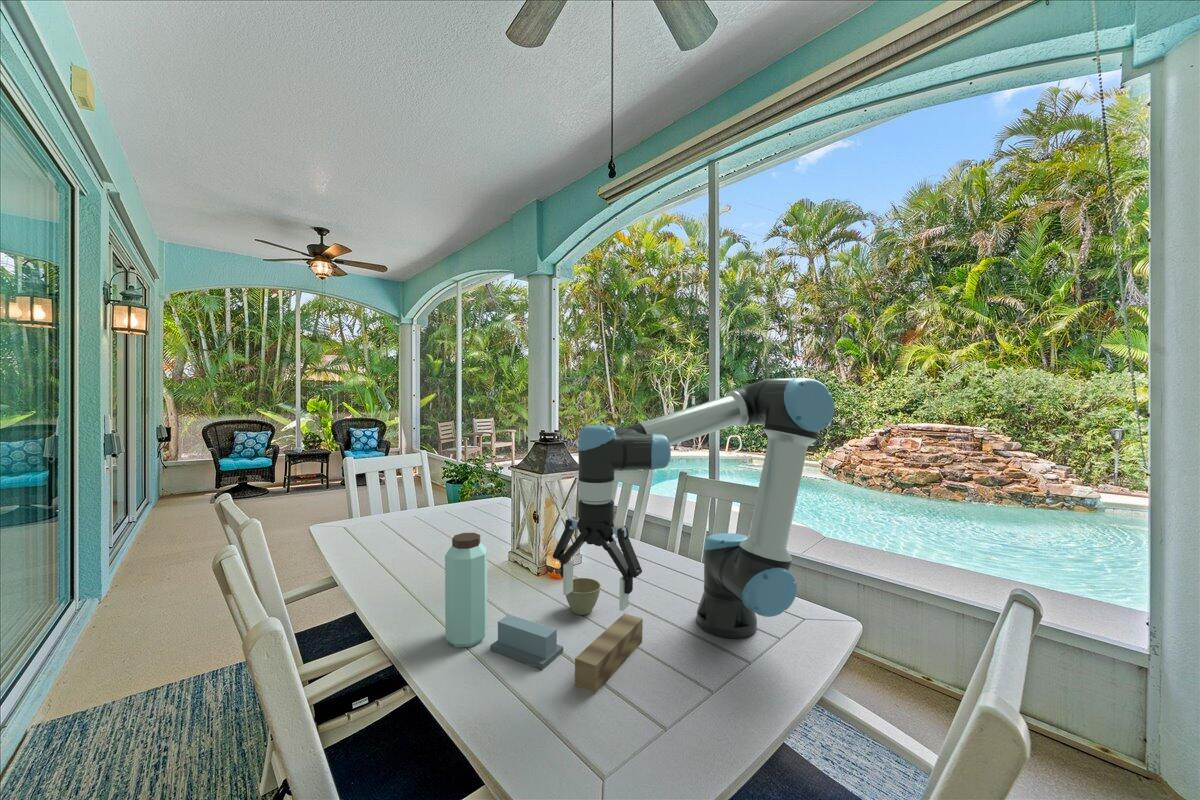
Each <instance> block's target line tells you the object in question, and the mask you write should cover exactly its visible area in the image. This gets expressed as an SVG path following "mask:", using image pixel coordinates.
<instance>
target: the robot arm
mask: <svg viewBox="0 0 1200 800" xmlns="http://www.w3.org/2000/svg"><path fill="white" fill-rule="evenodd" d="M834 414H835V402H834V398H833V396H832V394H831V392H830V391H829V388H828V387H827V386H826V385H825V384H823V383H822V382H821V381H818V380H817V379H813V378H806V377H799V376H798V377H787V378H785V377H784V378H778V377H777V378H775V377H774V378H765V379H763V380H760V381H757V382H754V383H750V384H747V385H744V386H742V387H739V388H737V389H733V390H729V391H728V392H727V394H726V395H725V396H723V397H720V398H717V399H713V400H711V401H707V402H704V403H702V404H701V403H700V404H697V405H695V406H691V407H688V408H685V409H681V410H677V411H674V412H671V413H668V414H665V415H661V416H659V417H654V418H652V419H649V420H644V421H642V422H639V423H635V424H631V425H628V426H625V427H624V426H616V427H614V426H611V425H607V424H606V425H604V424H603V425H602V424H601V425H600V424H592V425H584V426H582V427H581V428H580V429H579V431H578V432H579V433H578V445H577V450H578V453H577V454H578V479H577V482H578V485H577V487H578V488H577V498H578V499H579V500H578V502H577V518H578V519H577V518H576V517H575V516H571V517H569V518H568V519H565V523H564V529H563V531H562V534H561V536H560V538H559V541H558V542H557V545H556V546H555V549H554V552H553V553H552V558H553V559H554V560H558V562H559V564H560V577H561V578H562V581H563V582H562V585H563V586H562V587H563V588H562V593H563V596H564V595H565V596H566V595H567V594H569V593H570V592H572V591H573V579H574V560H573V561H572V558H573V556H574V555H575V554H576V553H577V552H578V550H579V549H580V548H582V546H583V545H584V544H585V543H586V545H594V546H596V547H602V548H603V550H604V551H606V552H607V553H608V555H609V557H610V558H611V559H612V561H613V562H614V564H615V566H616V567H617V569H618V571H619V572H620V573H621V575H622V576H621V577H620V578H619V604H618V605H619V611H621V612H623V611H625V610H626V609H627V608H628V607H629V606H630V605H629V604H630V599H629V598H630V594H631V593H632V592H633V591H634V590H633V589H634V587H633V585H634V583H633V582H634V579H635V578H637V577H638V576H640V575H641V574H642V573H643V569H642V567H641V565H640V562H639V560H638V557H637V555H636V554H637V553H636V552H635V549H634V547H633V545H632V542H631V540H630V538H629V528H628V527H627V525H623V526H619V527H618V526H615V525H614V519H615V518H614V517H615V502H614V500H613V499H614V498H615V472H616V471H618V472H619V471H644V470H645V471H646V470H648V471H650V470H651V471H654V470H658V469H659V470H661V469H665V468H667V467H668V465H669V464H670V461H671V458H672V457H671V453H672V452H671V451H672V450H671V449H672V448H671V446H673V445H677V444H680V443H683V442H687V441H689V440H692V439H696V438H698V437H701V436H705V435H708V434H711V433H715V432H718V431H720V430H724V429H728V428H730V427H733V426H737V427H738V428H743V427H746V426H747V427H748V426H750V425H758V424H759V425H764V426H763V432H764V433H765V435H766V436H767V438H768V440H767V441H768V442H767V444H766V450H765V455H764V459H763V465H762V467H761V474H760V478H759V483H758V488H757V493H756V498H755V502H754V506H753V513H752V516H751V517H752V518H751V522H750V526H749V531H748V534H747V535H745V534H740V533H732V532H731V533H730V532H725V533H724V532H722V533H721V532H720V533H714V534H710V535H709V536H707V537H706V538H705V540H704V547H703V551H704V552H703V553H704V557H703V565H704V566H703V567H704V568H703V569H704V571H703V573H704V574H703V592H702V596H701V598H700V600H699V603H698V607H697V610H696V622H697V625H698V626H699V627H700V629H702V630H704V632H706V633H709V634H711V635H714V636H716V637H719V638H720V637H721V638H726V639H743V638H748V637H750V636H752V635H754V634H755V633H756V631H757V629H758V628H757V627H758V626H757V625H758V619H757V615H759V616H761V617H765V618H767V617H768V618H770V617H771V618H772V617H776V616H777V617H778V616H779V615H781V614H783V613H784V611H788V609H790V607H791V606H792V604H793V603H794V602H795V599H796V597H797V593H798V584H797V580H796V579H795V576H794V575H793V573H791V564H792V556H791V554H790V553H789V551H788V549H787V548H788V544H789V543H788V542H789V538H790V534H791V528H792V523H793V519H794V513H795V509H796V504H797V501H798V494H799V489H800V486H801V485H800V484H801V480H802V476H803V471H804V466H805V461H806V460H805V459H806V455H807V452H808V447H809V446H810V445H813V444H814V443H815V442H816V441H817V438H818V434H819V432H820V431H823V430H824V429H825V428H826V427H827V426H828V425H830V423H831V422H832V420H833V418H834ZM576 529H577V530H578V531H579V533H580V534H579V535H578V536H577V537H576V538H575V540H574V542H572V544H571V545H570V547H568V545H569V543H570V541H571V538H572V537H573V534H574V532H575V530H576ZM614 535H615V537H614ZM615 538H616V539H617V540H616V539H615ZM617 542H618V544H619V546H618V544H617ZM567 547H568V549H567ZM566 549H567V550H566ZM756 614H757V615H756Z"/></svg>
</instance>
